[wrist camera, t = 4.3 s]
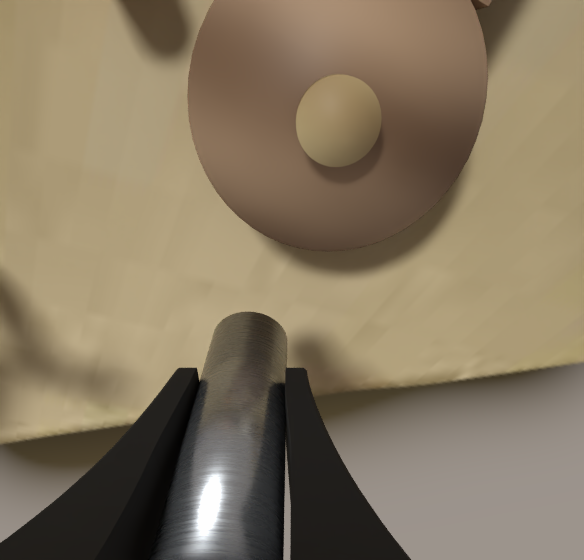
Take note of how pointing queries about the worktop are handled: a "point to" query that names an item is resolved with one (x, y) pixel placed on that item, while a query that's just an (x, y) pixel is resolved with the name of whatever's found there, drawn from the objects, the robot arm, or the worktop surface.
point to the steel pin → (232, 451)
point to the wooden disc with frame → (336, 112)
